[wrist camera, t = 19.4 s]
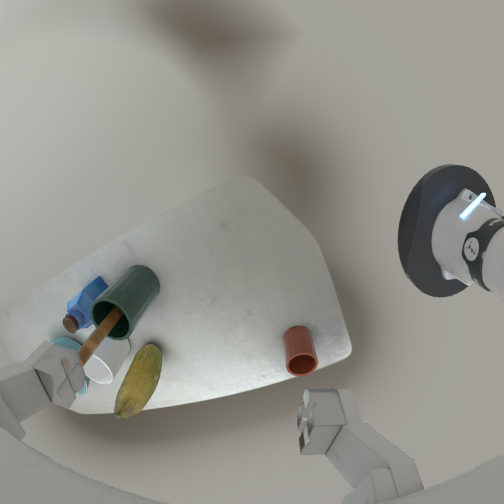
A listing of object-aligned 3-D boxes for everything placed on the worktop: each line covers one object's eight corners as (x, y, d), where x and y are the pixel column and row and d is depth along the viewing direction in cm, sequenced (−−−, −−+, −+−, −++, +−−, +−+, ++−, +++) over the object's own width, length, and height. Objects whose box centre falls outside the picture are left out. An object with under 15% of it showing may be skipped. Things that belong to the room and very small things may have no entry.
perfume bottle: (99, 275, 48) (66, 304, 37) (118, 300, 50) (89, 333, 38) (83, 289, 50) (51, 317, 38) (101, 312, 51) (72, 344, 40)
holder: (313, 327, 50) (321, 353, 42) (308, 349, 52) (314, 376, 44) (285, 325, 50) (289, 352, 42) (281, 347, 52) (283, 375, 44)
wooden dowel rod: (146, 279, 47) (84, 355, 26) (148, 295, 48) (91, 374, 27) (131, 277, 47) (65, 349, 26) (132, 293, 48) (71, 367, 27)
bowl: (92, 384, 59) (80, 403, 52) (48, 348, 57) (33, 365, 49) (109, 356, 55) (94, 378, 47) (59, 315, 52) (40, 333, 44)
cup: (158, 267, 47) (128, 302, 35) (160, 304, 50) (135, 345, 37) (122, 262, 47) (86, 294, 35) (126, 298, 50) (94, 335, 37)
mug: (101, 358, 56) (82, 386, 46) (83, 330, 53) (60, 356, 43) (137, 352, 54) (120, 383, 44) (118, 321, 52) (96, 350, 42)
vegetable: (155, 332, 52) (117, 403, 33) (176, 352, 53) (148, 426, 34) (138, 344, 53) (100, 411, 34) (158, 363, 55) (128, 433, 36)
